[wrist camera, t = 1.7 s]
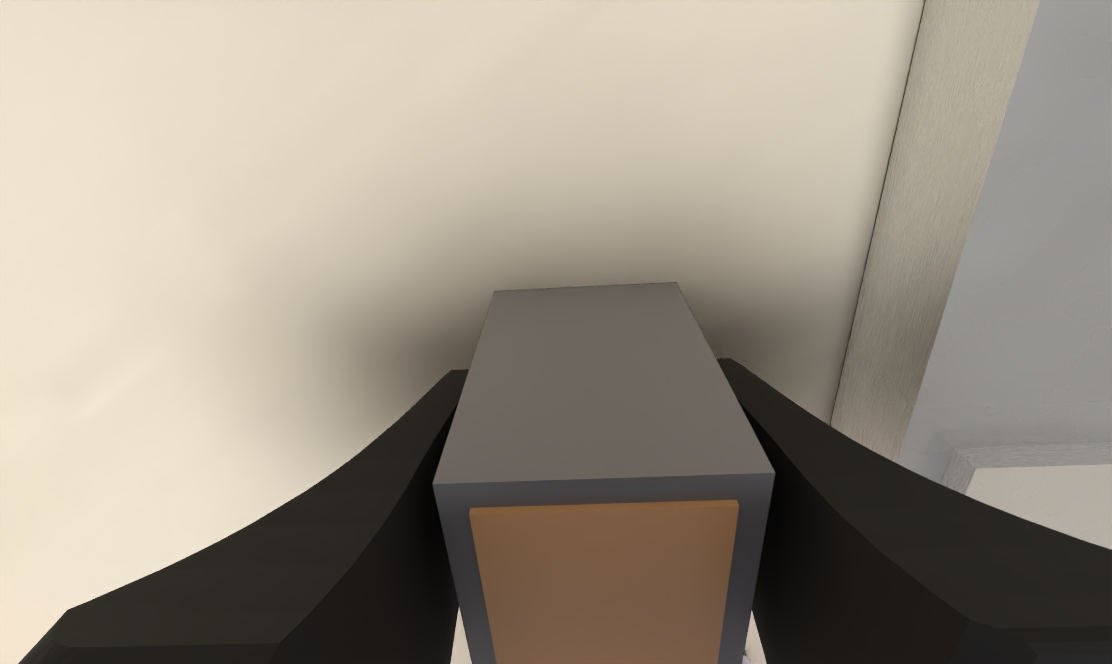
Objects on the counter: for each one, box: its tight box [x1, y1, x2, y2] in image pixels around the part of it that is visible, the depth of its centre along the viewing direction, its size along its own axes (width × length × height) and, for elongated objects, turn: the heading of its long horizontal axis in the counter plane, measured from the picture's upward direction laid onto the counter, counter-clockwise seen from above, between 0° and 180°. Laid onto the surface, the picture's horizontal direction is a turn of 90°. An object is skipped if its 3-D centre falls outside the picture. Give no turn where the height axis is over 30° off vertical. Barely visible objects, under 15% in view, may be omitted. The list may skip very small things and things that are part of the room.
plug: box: [432, 282, 775, 664], centre depth 10 cm, size 4×4×6 cm
